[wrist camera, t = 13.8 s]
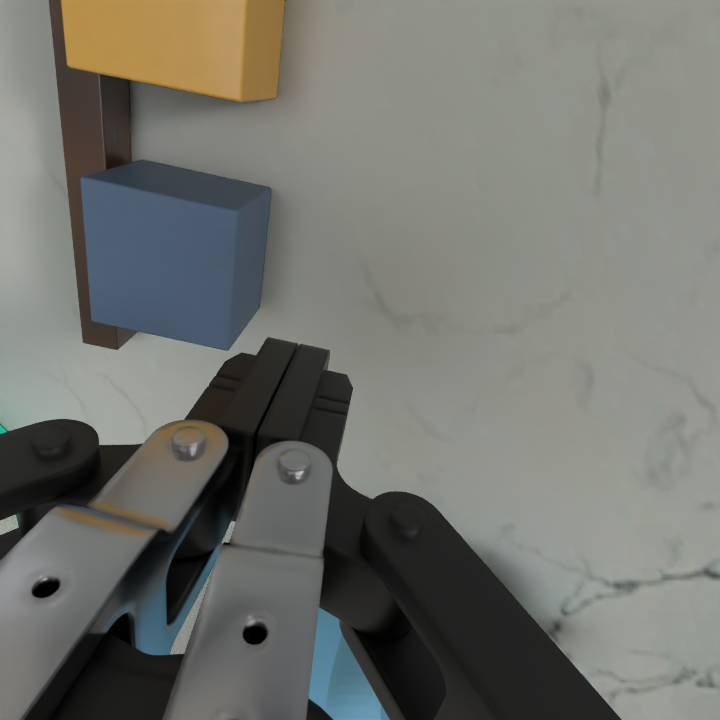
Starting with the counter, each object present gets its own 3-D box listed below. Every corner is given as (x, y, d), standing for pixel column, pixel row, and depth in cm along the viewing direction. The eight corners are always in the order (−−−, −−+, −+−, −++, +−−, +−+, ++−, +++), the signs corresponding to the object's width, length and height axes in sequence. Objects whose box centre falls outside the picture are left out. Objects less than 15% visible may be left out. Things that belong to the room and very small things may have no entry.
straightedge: (54, -374, 13) (4, -437, 11) (112, -362, 13) (69, -424, 11) (105, 325, 23) (82, 343, 21) (138, 332, 23) (117, 350, 21)
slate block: (141, 158, 19) (79, 175, 16) (272, 187, 19) (238, 210, 16) (144, 282, 21) (90, 321, 18) (260, 308, 21) (228, 352, 18)
